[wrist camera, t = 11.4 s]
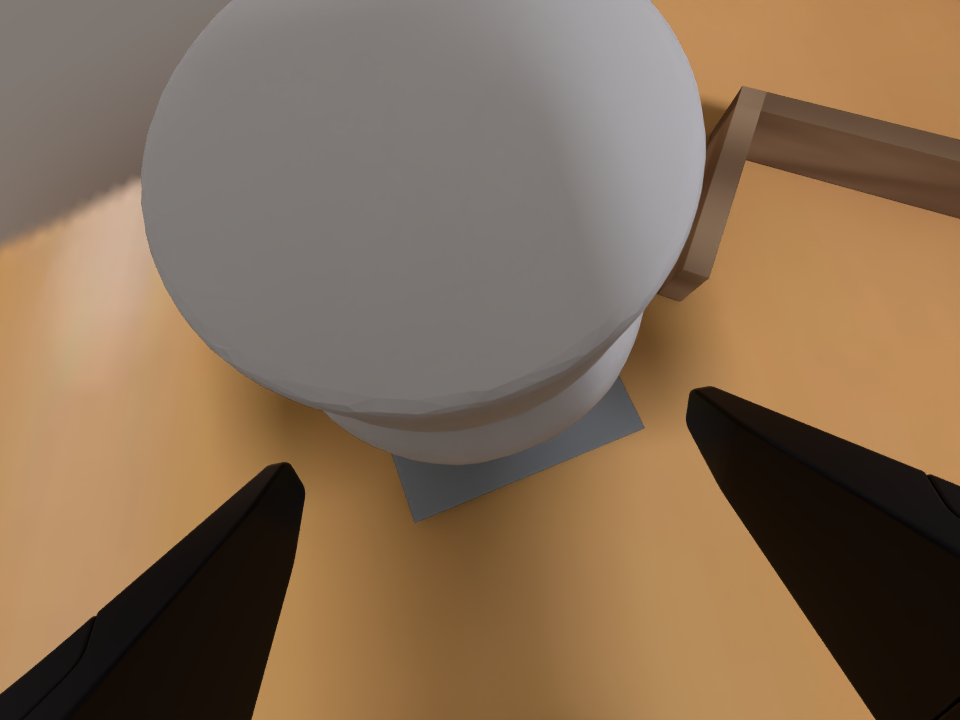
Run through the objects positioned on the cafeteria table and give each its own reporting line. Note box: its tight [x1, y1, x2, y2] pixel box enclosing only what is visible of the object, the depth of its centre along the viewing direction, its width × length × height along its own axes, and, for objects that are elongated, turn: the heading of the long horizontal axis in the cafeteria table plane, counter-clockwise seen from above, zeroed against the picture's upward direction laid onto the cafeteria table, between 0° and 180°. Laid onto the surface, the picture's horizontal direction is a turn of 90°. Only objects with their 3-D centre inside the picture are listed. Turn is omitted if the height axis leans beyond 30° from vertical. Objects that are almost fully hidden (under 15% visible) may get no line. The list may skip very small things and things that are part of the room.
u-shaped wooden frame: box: [658, 86, 960, 301], centre depth 16 cm, size 9×18×2 cm, turn 68°
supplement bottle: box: [141, 0, 706, 465], centre depth 10 cm, size 7×7×13 cm
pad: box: [392, 375, 645, 523], centre depth 17 cm, size 10×10×1 cm
